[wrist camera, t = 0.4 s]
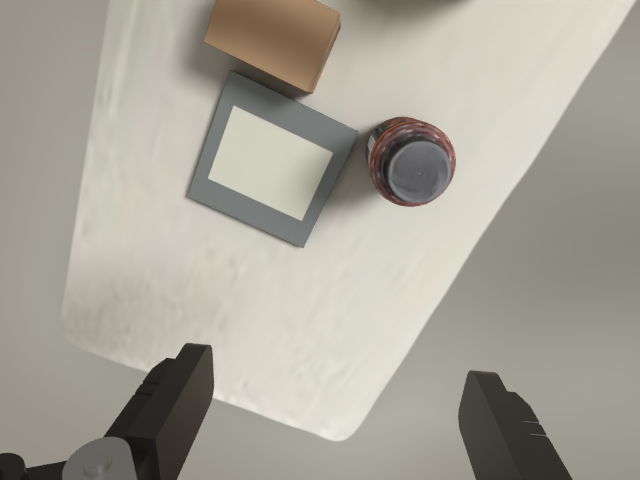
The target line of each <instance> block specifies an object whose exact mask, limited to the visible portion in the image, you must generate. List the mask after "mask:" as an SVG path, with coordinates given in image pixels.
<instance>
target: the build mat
mask: <svg viewBox="0 0 640 480" xmlns="http://www.w3.org/2000/svg"><path fill="white" fill-rule="evenodd" d="M358 133H359V132H358V131H356V130H354V129H352V128H350V127H348V126H346V125H344V124H342V123H340V122H338V121H336V120H334V119H332V118H330V117H327V116H325V115H323V114H321V113H319V112H317V111H315V110H313V109H311V108H309V107H307V106H305V105H303V104H301V103H299V102H297V101H294V100H292V99H290V98H288V97H286V96H284V95H282V94H280V93H278V92H276V91H274V90H272V89H270V88H268V87H266V86H263V85H261V84H259V83H257V82H255V81H253V80H251V79H249V78H247V77H245V76H243V75H241V74H239V73H237V72H235V71H232V70H230V72H229V75H228V78H227V81H226V84H225V87H224V90H223V93H222V96H221V99H220V102H219V105H218V107H217V110H216V113H215V116H214V119H213V122H212V125H211V128H210V131H209V134H208V137H207V140H206V143H205V146H204V149H203V152H202V155H201V158H200V161H199V164H198V167H197V170H196V173H195V175H194V178H193V181H192V184H191V187H190V190H189V193H188V197H190V198H192V199H194V200H196V201H199V202H201V203H203V204H205V205H208V206H210V207H212V208H214V209H217V210H219V211H221V212H223V213H226V214H228V215H230V216H232V217H234V218H237V219H239V220H241V221H243V222H246V223H248V224H250V225H252V226H255V227H257V228H259V229H261V230H264V231H266V232H268V233H270V234H272V235H275V236H277V237H279V238H281V239H284V240H286V241H288V242H290V243H293V244H295V245H297V246H299V247H302V248H304V246H305V244H306V242H307V239H308V237H309V235H310V233H311V231H312V229H313V227H314V225H315V223H316V221H317V219H318V216H319V214H320V212H321V210H322V208H323V206H324V204H325V202H326V200H327V198H328V196H329V193H330V191H331V189H332V187H333V185H334V183H335V181H336V179H337V177H338V175H339V173H340V170H341V168H342V166H343V164H344V162H345V160H346V158H347V156H348V154H349V152H350V150H351V147H352V145H353V143H354V141H355V139H356V137H357V135H358Z"/></svg>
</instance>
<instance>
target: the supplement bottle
mask: <svg viewBox="0 0 640 480" xmlns="http://www.w3.org/2000/svg"><path fill="white" fill-rule="evenodd" d="M366 158H367V163H368V166H369V170H370V173H371V177H372V180H373V183H374V185H375V187H376V188H377V190H378V191H379V192H380V194H381V195H382V196H383V197H385V198H386V199H387V200H389V201H391V202H392V203H395V204H397V205H400V206H407V207H414V206H420V205H424V204H427V203H429V202H431V201H433V200H434V199H436V198H437V197H439V196H440V195H441V194H442V193H443V192H444V191H445V190H446V188H447V187H448V185H449V184H450V182H451V180H452V178H453V175H454V172H455V166H456V159H455V152H454V149H453V146H452V144H451V142H450V140H449V139H448V137H447V136H446V135H445V134H444V133H443V132H442V131H441V130H439V129H438V128H437V127H435V126H433V125H431V124H428V123H426V122H423V121H419V120H416V119H413V118H408V117H396V118H393V119H390V120H387V121H385V122H383V123H382V124H381V125H379V126H378V127H377V128H376V129H375V130H374V131H373V133H372V135H371V136H370V138H369V140H368V144H367V148H366Z"/></svg>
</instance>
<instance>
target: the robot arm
mask: <svg viewBox="0 0 640 480" xmlns="http://www.w3.org/2000/svg"><path fill="white" fill-rule="evenodd" d="M213 391H214V374H213V354H212V347H211V345H203V344H193V343H186V344H185V345H184V346H183V348H182V350H181V351H180V353H179V354H178V356H177V357H176V359H172V358H166V359H165V360H163V361H162V362H161V363H159V364H158V365H156V366H155V367H154V368H152V370H151V371H150V372H149V374H148V375H147V377H146V378H145V380H144V381H143V384H141V385H140V386H139V388H138V389H137V391H136V392H135V395H133V396H132V398H131V399H130V400H129V402H128V403H127V405H126V406H125V407H124V409H123V410H122V412H121V413H120V414H119V416H118V417H117V419H116V420H115V422H114V423H113V424H112V426H111V427H110V428H109V430H108V431H107V433H106V434H105V435H104V437H103V438H99V439H96V440H94V441H91V442H89V443H87V444H85V445H83V446H82V447H81V448H79V449H78V450H77V451H76V452H74V453H73V454H72V455H71V457H70V458H69V459H68V460H67V461H63V462H58V463H53V464H47V465H42V466H36V467H31V468H26V467H25V464H24V460H23V459H22V457H20V456H19V455H16V454H13V453H2V454H0V480H177V478H178V475H179V473H180V471H181V469H182V467H183V464H184V462H185V460H186V457H187V455H188V453H189V451H190V448H191V446H192V444H193V442H194V440H195V437H196V435H197V433H198V430H199V428H200V426H201V424H202V422H203V419H204V417H205V415H206V412H207V410H208V408H209V406H210V403H211V400H212V396H213ZM458 419H459V428H460V432H461V435H462V438H463V441H464V444H465V447H466V450H467V453H468V456H469V459H470V462H471V465H472V468H473V471H474V475H475V478H476V480H572V478H571V476H570V475H569V473H568V471H567V469H566V467H565V466H564V464H563V462H562V461H561V459H560V457H559V455H558V454H557V452H556V450H555V449H554V447H553V445H552V443H551V441H550V440H549V438H547V437H546V433H545V431H544V429H543V428H542V426H541V425H539V421H538V419H537V417H536V415H535V414H534V412H533V410H532V409H531V407H530V406H529V405H528V404H527V403H526V402H525V401H524V400H523V399H522V398H521V397H520V396H519V395H518V394H517V393H515V392H508V391H507V390H506V388H505V386H504V385H503V383H502V381H501V379H500V377H499V375H498V374H497V373H494V372H482V371H472V370H471V371H469V372H468V375H467V378H466V383H465V386H464V391H463V395H462V399H461V403H460V407H459V415H458Z"/></svg>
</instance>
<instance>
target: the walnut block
mask: <svg viewBox="0 0 640 480" xmlns="http://www.w3.org/2000/svg"><path fill="white" fill-rule="evenodd" d="M339 30H340V14H339V12H337V11H335V10H333V9H331V8H329V7H327V6H325V5H323V4H321V3H319V2H317V1H315V0H216V3H215V7H214V10H213V13H212V16H211V20H210V23H209V26H208V29H207V33H206V36H205V39H204V42H205V43H208V44H210V45H212V46H214V47H216V48H218V49H220V50H222V51H224V52H226V53H228V54H230V55H232V56H234V57H236V58H238V59H240V60H242V61H244V62H247V63H249V64H251V65H253V66H255V67H257V68H259V69H261V70H263V71H265V72H267V73H269V74H271V75H273V76H275V77H277V78H279V79H281V80H283V81H285V82H288V83H290V84H292V85H294V86H296V87H298V88H300V89H302V90H304V91H306V92H311V93H313V92H314V90H315V87H316V85H317V82H318V80H319V78H320V75H321V73H322V71H323V68H324V66H325V63H326V61H327V59H328V56H329V54H330V51H331V49H332V47H333V44H334V42H335V40H336V37H337V35H338V32H339Z"/></svg>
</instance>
